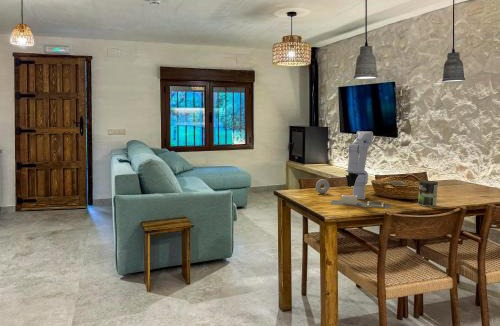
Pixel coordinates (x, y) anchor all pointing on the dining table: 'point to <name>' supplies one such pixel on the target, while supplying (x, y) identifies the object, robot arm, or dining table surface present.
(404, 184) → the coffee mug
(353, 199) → the card box
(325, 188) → the donut
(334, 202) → the mat
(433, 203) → the coffee can
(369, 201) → the frame
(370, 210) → the dining table surface
